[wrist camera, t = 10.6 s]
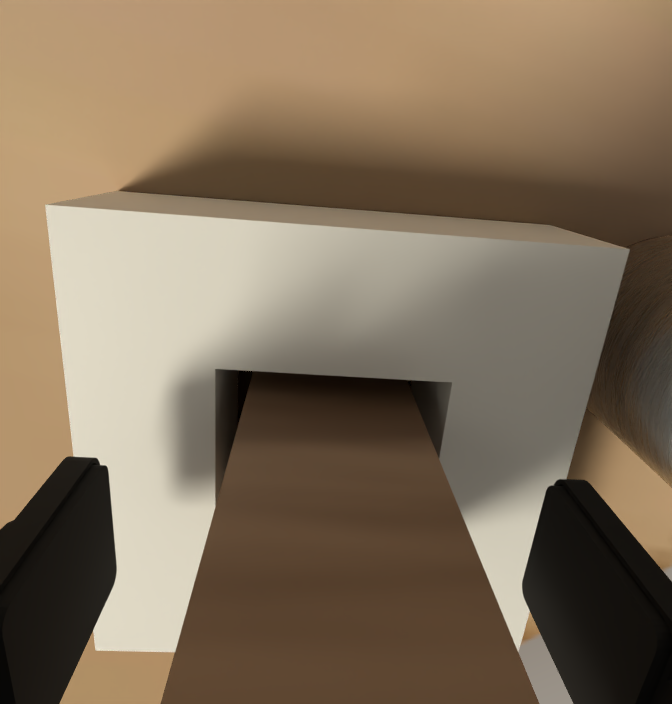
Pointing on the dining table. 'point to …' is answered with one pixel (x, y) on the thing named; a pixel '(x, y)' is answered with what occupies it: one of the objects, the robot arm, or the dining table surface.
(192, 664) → the walnut peg
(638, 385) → the grey cylinder
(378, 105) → the dining table surface
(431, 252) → the bore block
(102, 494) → the robot arm
